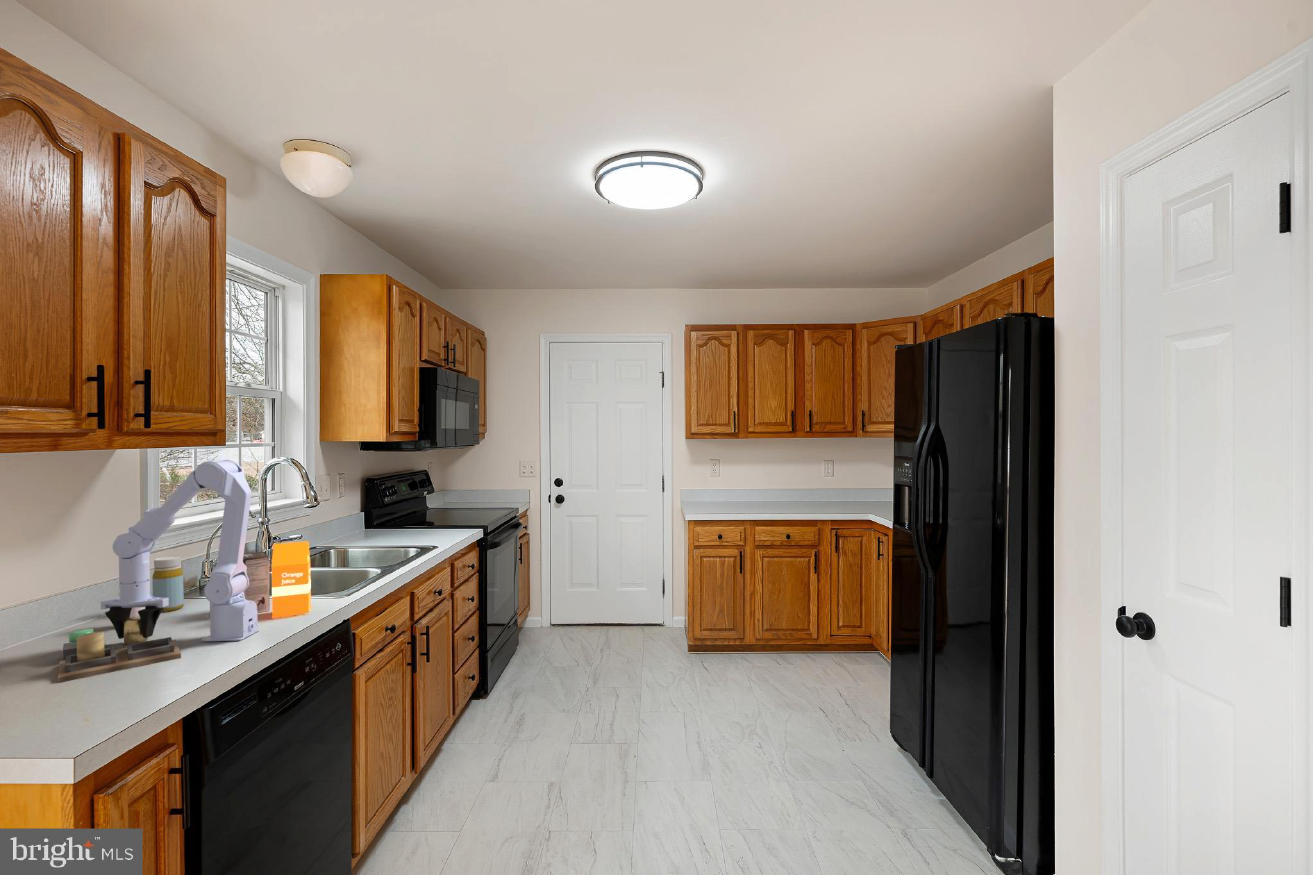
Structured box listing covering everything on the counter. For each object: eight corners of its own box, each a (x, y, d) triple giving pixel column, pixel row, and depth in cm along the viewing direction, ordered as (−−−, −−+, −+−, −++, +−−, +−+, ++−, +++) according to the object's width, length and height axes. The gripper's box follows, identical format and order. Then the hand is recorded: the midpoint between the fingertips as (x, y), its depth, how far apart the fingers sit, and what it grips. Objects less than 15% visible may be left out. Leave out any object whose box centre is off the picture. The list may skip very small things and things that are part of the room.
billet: (152, 639, 152) (151, 615, 152) (137, 645, 148) (137, 620, 148) (133, 640, 152) (133, 616, 152) (118, 646, 148) (118, 621, 148)
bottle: (163, 606, 182) (162, 556, 182) (189, 605, 183) (188, 555, 183) (146, 613, 175) (146, 561, 175) (173, 612, 176) (172, 560, 176)
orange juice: (276, 611, 176) (274, 541, 176) (311, 607, 179) (310, 539, 179) (272, 618, 169) (270, 546, 169) (308, 614, 172) (307, 543, 172)
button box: (99, 650, 145) (99, 637, 145) (99, 656, 141) (99, 643, 141) (63, 656, 141) (63, 643, 141) (62, 663, 137) (62, 650, 137)
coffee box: (237, 609, 178) (236, 553, 178) (262, 604, 183) (261, 550, 183) (244, 615, 172) (243, 558, 172) (270, 610, 177) (269, 554, 176)
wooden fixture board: (175, 643, 149) (174, 614, 149) (181, 657, 139) (180, 626, 139) (60, 665, 135) (59, 633, 135) (57, 682, 126) (57, 648, 126)
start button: (93, 635, 144) (93, 627, 144) (93, 639, 141) (93, 631, 141) (69, 639, 141) (69, 631, 141) (69, 643, 138) (68, 635, 138)
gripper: (177, 576, 154) (178, 630, 154) (117, 578, 154) (118, 632, 154) (155, 583, 147) (156, 640, 147) (92, 585, 147) (93, 642, 147)
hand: (135, 637), depth 150 cm, fingers open, 5 cm apart
